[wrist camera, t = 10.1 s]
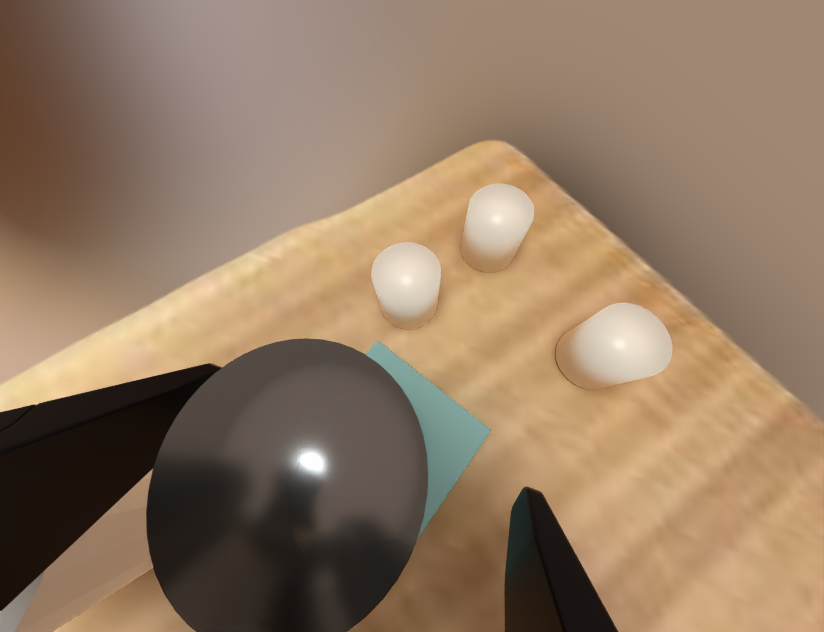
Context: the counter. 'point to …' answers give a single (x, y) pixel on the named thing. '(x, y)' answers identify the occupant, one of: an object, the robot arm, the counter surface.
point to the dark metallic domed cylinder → (287, 492)
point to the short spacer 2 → (614, 347)
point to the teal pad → (435, 428)
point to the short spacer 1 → (407, 284)
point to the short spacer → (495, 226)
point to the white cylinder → (87, 568)
